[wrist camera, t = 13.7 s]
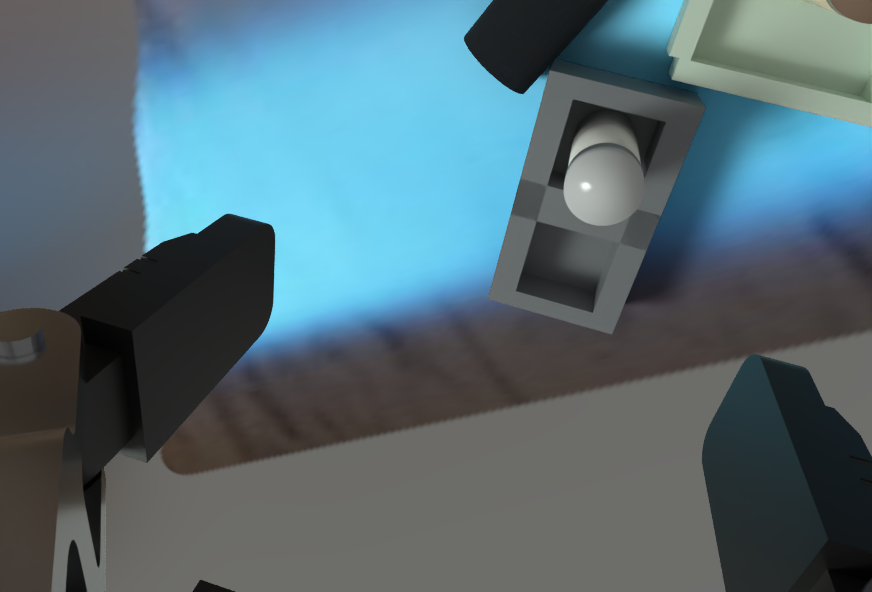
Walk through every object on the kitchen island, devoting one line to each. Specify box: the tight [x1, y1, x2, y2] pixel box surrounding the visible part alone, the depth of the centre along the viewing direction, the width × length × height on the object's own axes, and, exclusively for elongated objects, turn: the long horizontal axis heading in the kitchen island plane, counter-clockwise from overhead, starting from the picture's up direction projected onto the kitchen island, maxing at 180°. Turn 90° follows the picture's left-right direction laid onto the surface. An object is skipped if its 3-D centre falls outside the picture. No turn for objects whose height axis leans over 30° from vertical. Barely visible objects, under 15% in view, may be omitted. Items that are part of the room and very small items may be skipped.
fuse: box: [564, 110, 645, 226], centre depth 36 cm, size 4×4×9 cm
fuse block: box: [488, 59, 706, 334], centre depth 41 cm, size 16×9×4 cm, turn 170°
